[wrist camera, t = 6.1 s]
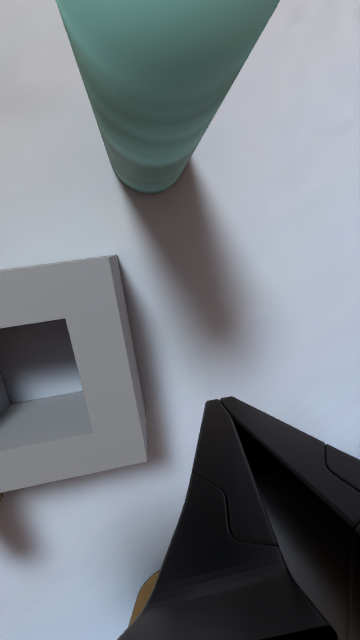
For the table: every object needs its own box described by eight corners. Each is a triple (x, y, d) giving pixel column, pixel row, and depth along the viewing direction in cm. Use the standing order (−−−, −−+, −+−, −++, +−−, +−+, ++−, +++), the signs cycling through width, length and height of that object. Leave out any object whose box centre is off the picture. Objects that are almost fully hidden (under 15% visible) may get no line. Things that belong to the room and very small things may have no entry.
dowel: (189, 189, 15) (301, 61, 5) (116, 197, 15) (60, 78, 4) (180, 104, 14) (297, -301, 4) (101, 111, 14) (-21, -324, 3)
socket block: (145, 411, 18) (147, 461, 14) (-17, 442, 17) (-69, 507, 13) (116, 254, 16) (108, 257, 11) (-77, 280, 15) (-168, 294, 10)
